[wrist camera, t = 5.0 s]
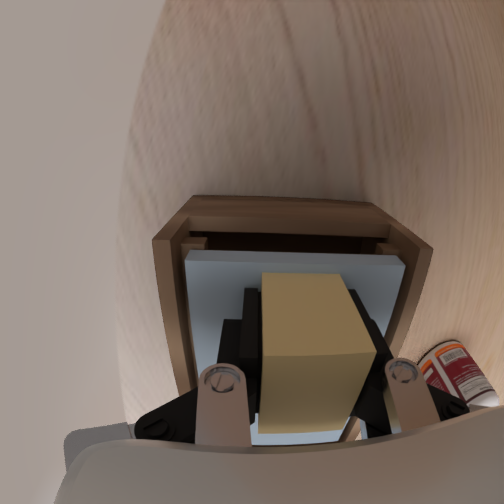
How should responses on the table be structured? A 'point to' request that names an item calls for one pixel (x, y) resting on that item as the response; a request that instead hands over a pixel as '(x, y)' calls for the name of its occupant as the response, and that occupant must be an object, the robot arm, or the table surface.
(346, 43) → the table surface
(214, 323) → the cover plate
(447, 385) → the pill bottle
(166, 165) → the table surface
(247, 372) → the robot arm
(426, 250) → the walnut box
